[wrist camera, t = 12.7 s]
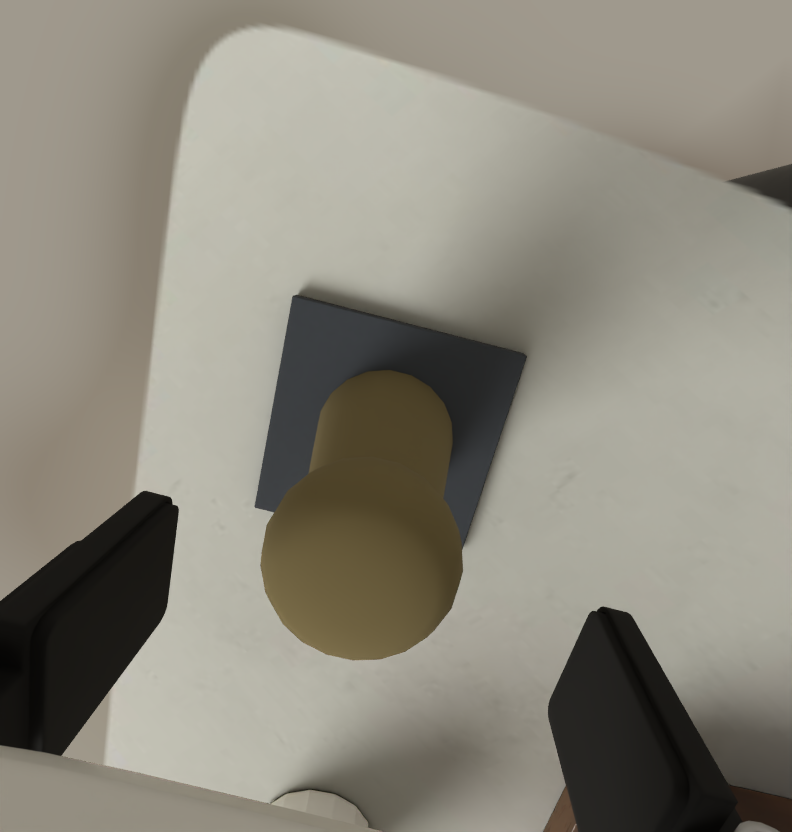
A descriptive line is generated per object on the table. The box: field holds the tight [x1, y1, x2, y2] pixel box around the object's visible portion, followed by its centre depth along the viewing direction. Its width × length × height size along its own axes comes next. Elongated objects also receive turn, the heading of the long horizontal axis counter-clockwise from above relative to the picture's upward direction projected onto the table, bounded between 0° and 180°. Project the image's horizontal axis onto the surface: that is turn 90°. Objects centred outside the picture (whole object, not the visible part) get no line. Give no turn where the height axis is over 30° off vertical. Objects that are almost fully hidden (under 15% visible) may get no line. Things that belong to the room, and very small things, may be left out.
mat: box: [255, 295, 527, 549], centre depth 22 cm, size 10×10×1 cm
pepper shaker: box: [261, 370, 463, 660], centre depth 17 cm, size 6×6×11 cm
